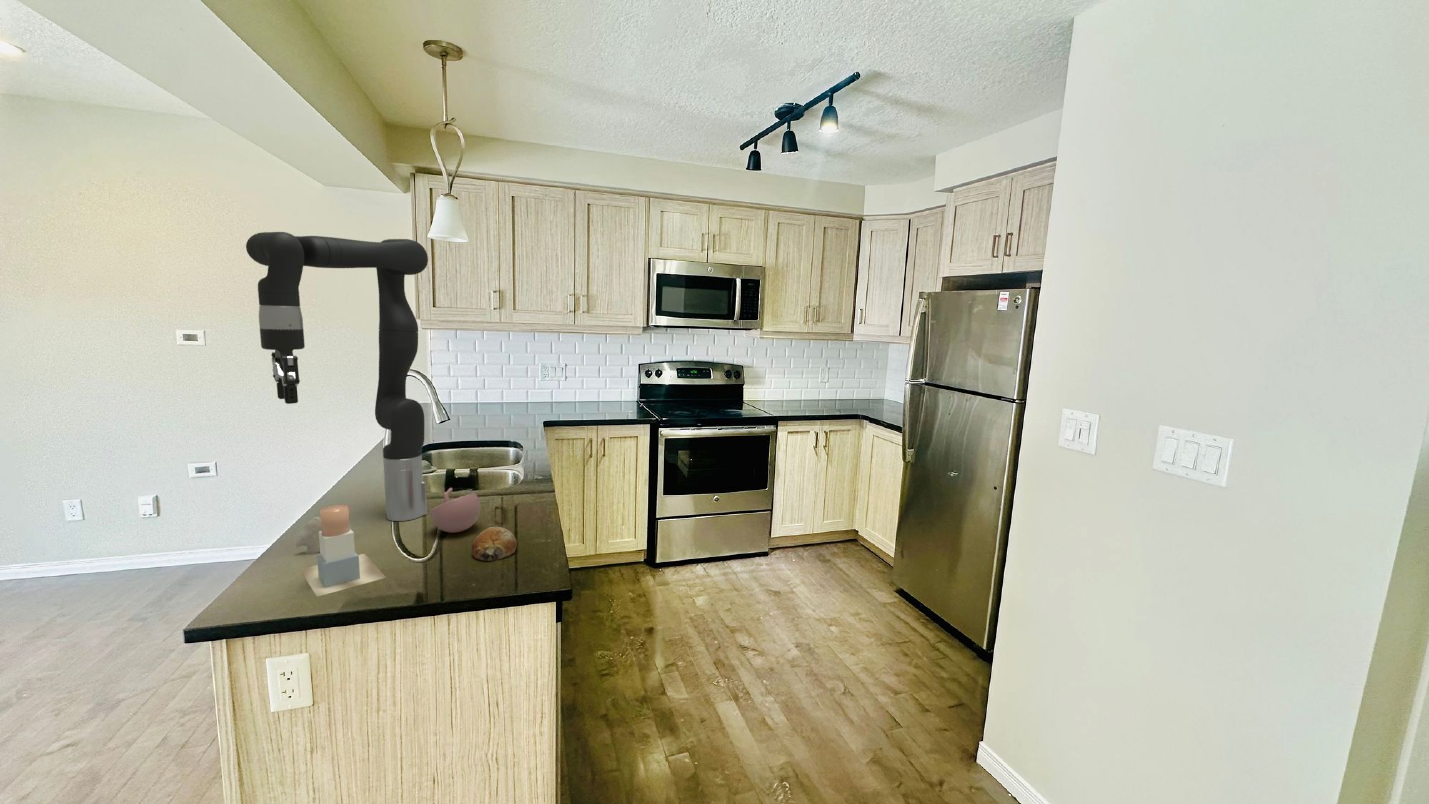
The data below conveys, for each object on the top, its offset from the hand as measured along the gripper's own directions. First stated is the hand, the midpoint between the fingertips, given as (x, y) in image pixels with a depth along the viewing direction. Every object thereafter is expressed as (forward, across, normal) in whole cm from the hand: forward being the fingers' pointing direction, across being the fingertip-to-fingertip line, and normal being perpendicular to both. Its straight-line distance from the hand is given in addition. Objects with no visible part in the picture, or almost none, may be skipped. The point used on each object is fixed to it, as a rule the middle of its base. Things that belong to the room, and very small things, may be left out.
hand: (287, 400), depth 123 cm
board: (+36, -20, -4) cm, 41 cm away
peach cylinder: (+25, -22, -3) cm, 33 cm away
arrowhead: (+36, -4, -3) cm, 37 cm away
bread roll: (+36, -28, -33) cm, 57 cm away
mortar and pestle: (+36, -8, -32) cm, 49 cm away
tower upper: (+30, -22, -3) cm, 37 cm away
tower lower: (+35, -22, -3) cm, 41 cm away
